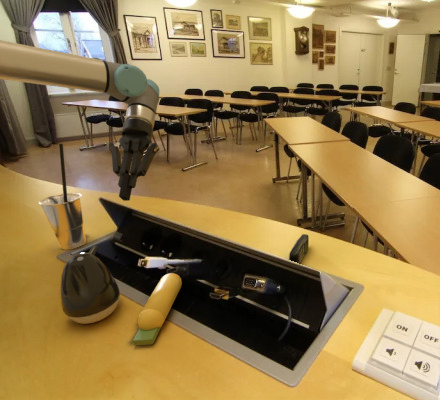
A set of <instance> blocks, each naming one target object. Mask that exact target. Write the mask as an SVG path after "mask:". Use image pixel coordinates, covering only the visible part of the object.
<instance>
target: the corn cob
mask: <svg viewBox="0 0 440 400" xmlns="http://www.w3.org/2000/svg"><path fill="white" fill-rule="evenodd" d="M182 281H183V280H182V278H181V277H180V275H178V274H177V273H174V272H170V273H167V274H165V275H163V276H161V278H160V280H159V281H158V283H157V285H156V286H155V288H154V290H153V291H152V293H151V294H150V296H149V298H148V299H147V301H146V302H145V305H144V306H143V308H142V309H141V311H140V312H139V315H138V316H137V326H138V327H139V329H138V330H137V332H136V334H135V335H134V337H133V339H132V344H133V346H144V345H145V346H146V345H153V344H154V343H155V341H156V339H157V336H158V335H159V333H160V330H161V329H162V326H163V324H164V323H165V321H166V319H167V316H168V315H169V312H170V310H171V308H172V306H173V305H174V302H175V301H176V298H177V296H178V294H179V292H180V290H181V288H182V284H183V282H182Z"/></svg>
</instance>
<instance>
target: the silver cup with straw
mask: <svg viewBox="0 0 440 400" xmlns="http://www.w3.org/2000/svg"><path fill="white" fill-rule="evenodd" d="M58 147H59V149H58V150H59V160H60V173H61V185H62V193H58V194H54V195H49V196H46V197H43V198H41V199H40V200H38V201H37V204H38V205H40V206H41V208H42V211H43V213H44V214H45V218H46V219H47V221H48V223H49V225H50V227H51V229H52V231H53V234H54V235H55V237H56V240H57V242H58V244H59V246H60V249H62V250H67V251H68V250H74V248H75V249H78V248H80V247H79V246H81V247H82V245H83V246H84V245H86V243H87V239H86V232H85V231H86V230H85V226H84V218H83V211H82V203H81V198H82V194H81V193H77V192H68V190H67V189H68V187H67V176H66V165H65V155H64V144H63V143H58ZM77 247H78V248H77Z"/></svg>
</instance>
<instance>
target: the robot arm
mask: <svg viewBox="0 0 440 400" xmlns="http://www.w3.org/2000/svg"><path fill="white" fill-rule="evenodd" d="M0 80H5V81H12V82H19V83H27V84H35V85H43V86H51V87H57V88H59V87H60V88H66V89H73V90H74V89H75V90H80V91H81V90H82V91H88V92H89V91H90V92H96V93H103V94H107V95H109V96H111V97H113V98H115V99H117V100H119V101H121V102H123V103H124V104H126V105H127V106H126V107H127V108H126V112H125V116H124V121H123V125H122V130H121V137H120V138H119V140H118V141H117V142H115V143H113V142H110V143H109V144H108V147H109V148H110V150H111V159H112V160H111V163H112V164H111V165H112V171H113V172H112V173H114V174H115V175H116V176H117V177H118V183H117V185H118V186H117V187H119V188H120V189H119V194H118V197H119V198H120V199H121V200H122V201H131V196H132V190H133V189H136V186H137V181H138V178H139V177H145V176H146V175H147V173H148V170H149V168H150V166H151V164H152V162H153V159H154V157H155V155H156V154H157V153H158V152H159V151H160V147H159V145H158V143H157V142H153V141H152V139H153V133H154V126H155V121H156V115H157V109H158V105H159V103H160V102H159V101H160V87H159V85H158V84H157V83H156V82H155V81H154V80H152V79H150V78H147V76H146V74H145V72H144V71H143V70H142V69H141V68H140V67H138V66H136V65H133V64H131V63H130V64H129V63H123V64H122V63H118V62H113V61H107V60H103V59H101V58H99V57H97V56H93V57H87V56H84V55H83V56H82V55H77V54H71V53H68V52H62V51H58V50H57V51H56V50H52V49H46V48H42V47H37V46H32V45H27V44H21V43H16V42H13V41H12V42H11V41H6V40H2V39H0ZM121 147H122V149H123V154H122V155H123V156H122V157H121Z"/></svg>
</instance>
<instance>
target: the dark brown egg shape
mask: <svg viewBox="0 0 440 400" xmlns="http://www.w3.org/2000/svg"><path fill="white" fill-rule="evenodd" d="M98 250H99V246H97V245H93V246H92V247H91V248H90V250H89V251H88V252H78V253H75V254H72V256H70V257H69V258H68V259H67V260H66V262H65V264H64V266H63V268H62V272H61V276H60V290H59V291H60V292H59V294H60V303H61V304H60V305H61V310H62V312H63V314H64V315H65V316H66V317H68V318H69V319H70V320H72V321H73V322H75V323H78V324H83V325H84V324H94V323H97V322H99V321H102V320H104V319H105V318H107V317H109V316H110V315H111V314H112V313H113V312H114V311H115V309H116V308H117V307H118V303H119V299H120V296H121V292H120V291H121V290H120V288H119V286H118V283H117V281H116V279H115V277H114V275H113V274H112V272H111V270H109V268H108V267H107V265H106V264H105V263H104V262H103V261H102V260H101V259H100V258H99V257H98V256H96V254H97V252H98Z"/></svg>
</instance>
